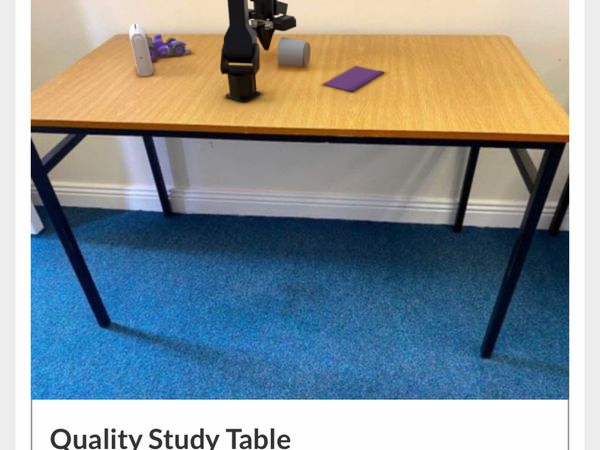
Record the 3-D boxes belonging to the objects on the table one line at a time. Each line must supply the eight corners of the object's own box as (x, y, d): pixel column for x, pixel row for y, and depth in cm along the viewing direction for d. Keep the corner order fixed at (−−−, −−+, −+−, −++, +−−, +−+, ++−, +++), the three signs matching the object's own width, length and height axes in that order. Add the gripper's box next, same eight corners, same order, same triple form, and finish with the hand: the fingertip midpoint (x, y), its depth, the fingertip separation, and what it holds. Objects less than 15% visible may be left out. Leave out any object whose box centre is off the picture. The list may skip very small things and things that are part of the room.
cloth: (352, 92, 119) (352, 90, 118) (323, 85, 123) (323, 83, 123) (384, 73, 129) (384, 71, 128) (355, 67, 133) (355, 65, 133)
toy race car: (193, 54, 145) (189, 32, 141) (144, 64, 139) (139, 41, 135) (182, 46, 151) (179, 25, 147) (136, 55, 146) (130, 33, 142)
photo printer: (154, 75, 131) (144, 29, 124) (138, 77, 131) (127, 31, 123) (152, 63, 139) (142, 19, 132) (137, 65, 138) (126, 21, 131)
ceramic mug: (305, 71, 131) (305, 43, 126) (277, 70, 132) (275, 41, 128) (313, 59, 139) (313, 32, 134) (287, 58, 141) (286, 31, 136)
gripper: (307, -10, 130) (308, 48, 139) (256, -17, 139) (260, 38, 149) (282, -2, 123) (285, 58, 133) (230, -10, 132) (236, 47, 142)
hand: (266, 50), depth 139 cm, fingers closed
